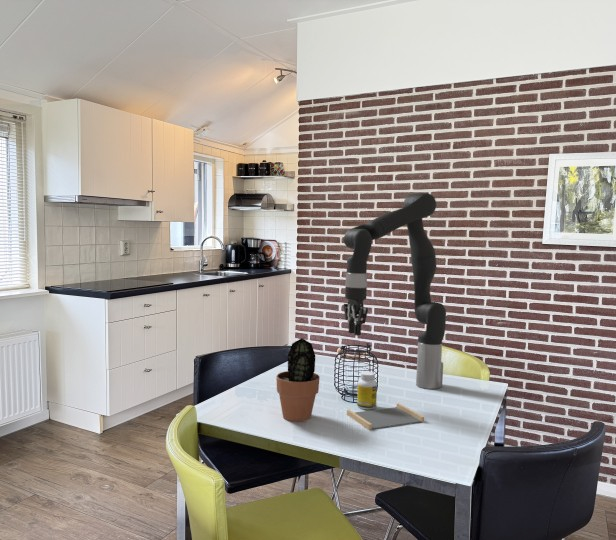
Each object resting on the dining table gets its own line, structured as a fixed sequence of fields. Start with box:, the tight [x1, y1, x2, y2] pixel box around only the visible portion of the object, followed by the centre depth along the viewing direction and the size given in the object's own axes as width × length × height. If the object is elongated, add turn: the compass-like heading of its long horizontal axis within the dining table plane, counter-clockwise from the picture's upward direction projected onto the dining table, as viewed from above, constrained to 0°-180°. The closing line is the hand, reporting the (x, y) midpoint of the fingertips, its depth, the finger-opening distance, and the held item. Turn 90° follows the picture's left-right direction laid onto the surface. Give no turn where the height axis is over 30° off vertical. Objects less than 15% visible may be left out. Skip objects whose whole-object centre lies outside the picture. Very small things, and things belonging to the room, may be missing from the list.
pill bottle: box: [356, 371, 378, 411], centre depth 173 cm, size 6×6×12 cm
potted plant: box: [275, 337, 321, 423], centre depth 161 cm, size 14×14×25 cm
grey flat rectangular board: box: [346, 402, 425, 431], centre depth 163 cm, size 20×14×2 cm
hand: (354, 333), depth 181 cm, fingers open, 3 cm apart
